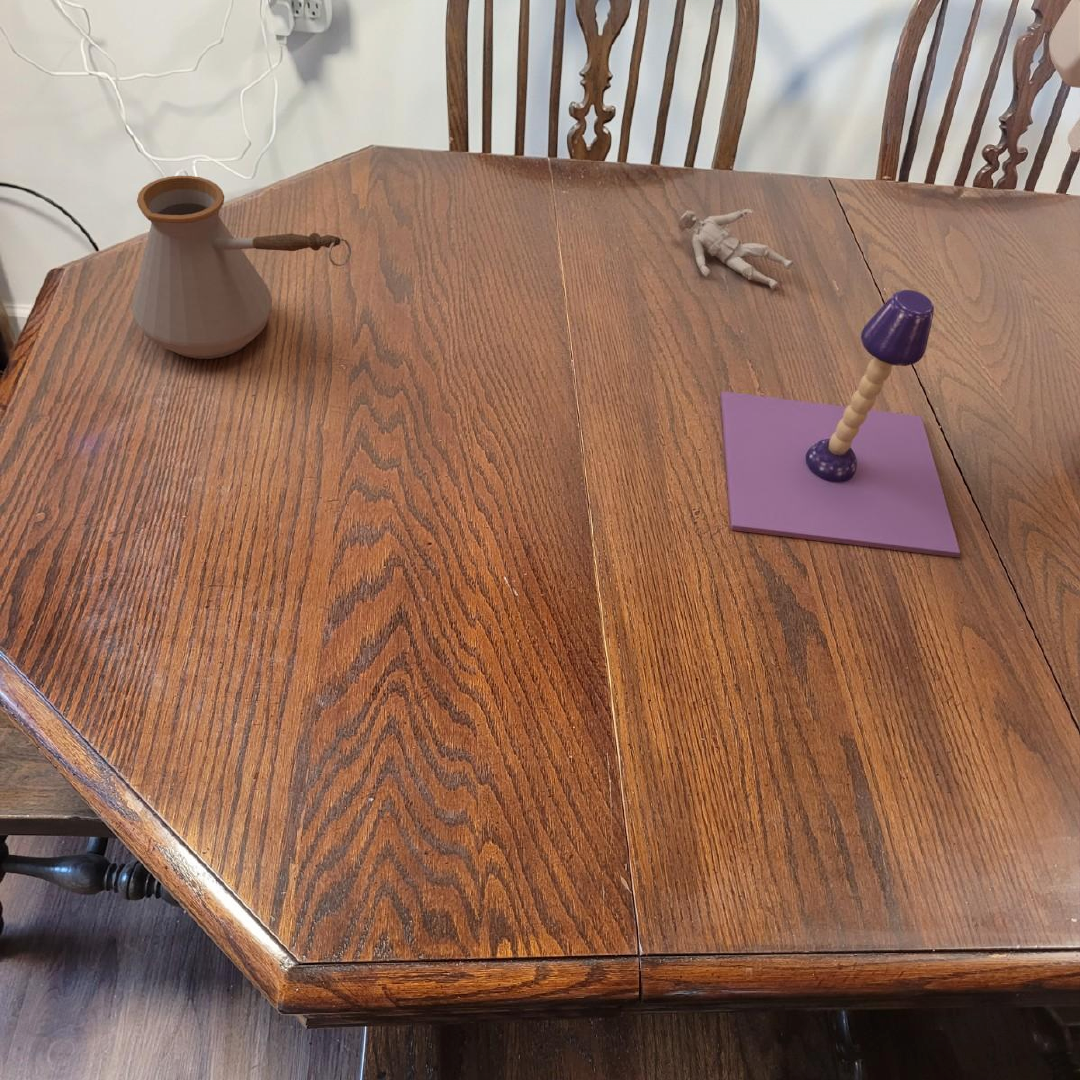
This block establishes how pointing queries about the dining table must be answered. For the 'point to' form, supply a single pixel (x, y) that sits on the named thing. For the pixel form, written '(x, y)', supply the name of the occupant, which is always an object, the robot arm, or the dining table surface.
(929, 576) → the dining table surface
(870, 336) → the toy lamp
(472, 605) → the dining table surface
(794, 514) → the mat
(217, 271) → the coffee pot
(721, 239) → the soldier figure
